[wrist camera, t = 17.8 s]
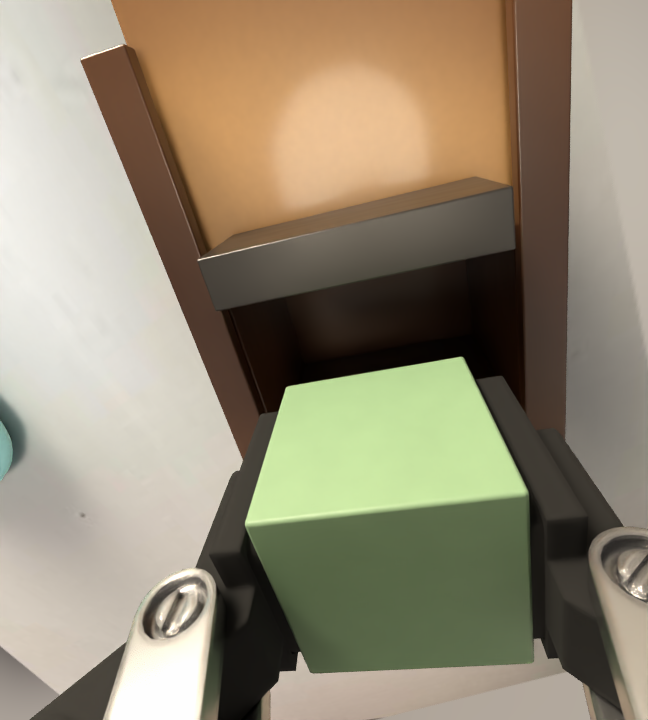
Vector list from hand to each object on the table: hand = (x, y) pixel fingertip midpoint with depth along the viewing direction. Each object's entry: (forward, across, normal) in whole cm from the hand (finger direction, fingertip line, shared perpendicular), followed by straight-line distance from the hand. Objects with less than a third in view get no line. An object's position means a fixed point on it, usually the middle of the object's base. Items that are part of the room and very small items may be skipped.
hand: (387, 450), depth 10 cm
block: (0, 0, 0) cm, 0 cm away
